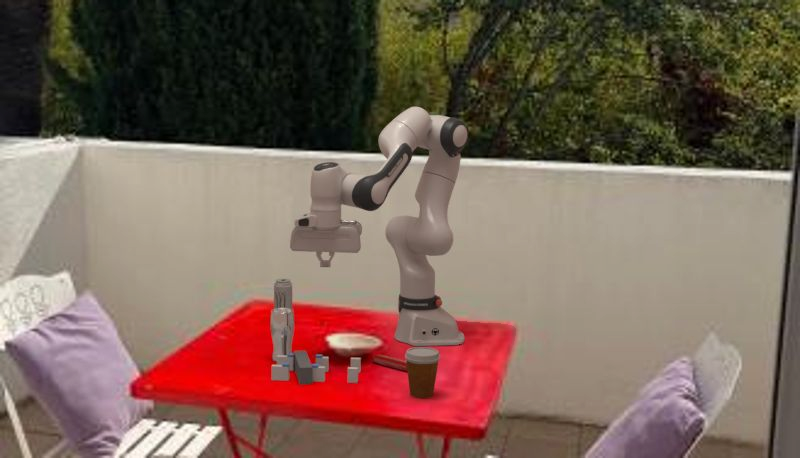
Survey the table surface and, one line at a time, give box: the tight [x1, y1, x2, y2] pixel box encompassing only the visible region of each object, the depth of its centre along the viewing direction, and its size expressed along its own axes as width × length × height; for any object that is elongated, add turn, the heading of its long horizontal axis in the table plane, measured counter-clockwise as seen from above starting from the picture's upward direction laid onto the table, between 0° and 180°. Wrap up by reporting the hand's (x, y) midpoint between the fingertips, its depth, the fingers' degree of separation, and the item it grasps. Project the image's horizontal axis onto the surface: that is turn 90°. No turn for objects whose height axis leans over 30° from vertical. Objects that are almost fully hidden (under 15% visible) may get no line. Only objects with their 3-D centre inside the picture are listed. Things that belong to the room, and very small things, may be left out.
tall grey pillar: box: [293, 350, 314, 386], centre depth 288 cm, size 4×16×5 cm, turn 12°
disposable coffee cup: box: [404, 346, 441, 399], centre depth 273 cm, size 10×10×12 cm
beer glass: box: [270, 308, 295, 363], centre depth 301 cm, size 7×7×15 cm
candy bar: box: [371, 354, 408, 372], centre depth 297 cm, size 16×4×3 cm, turn 52°
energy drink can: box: [273, 278, 293, 309], centre depth 340 cm, size 6×6×15 cm
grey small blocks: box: [270, 353, 362, 384], centre depth 288 cm, size 24×10×5 cm, turn 87°
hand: (325, 266), depth 294 cm, fingers closed
